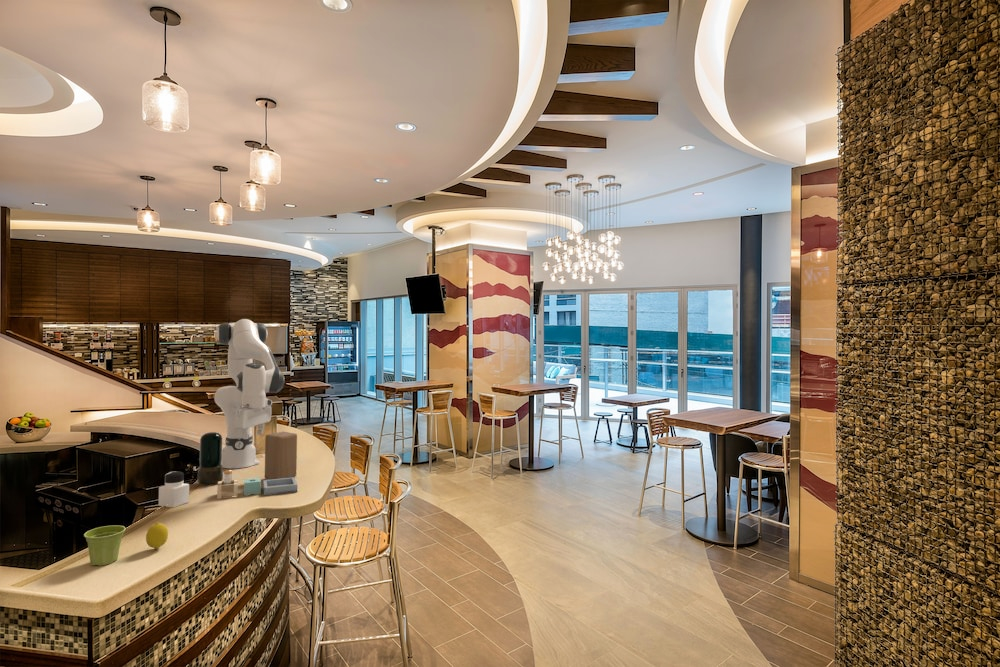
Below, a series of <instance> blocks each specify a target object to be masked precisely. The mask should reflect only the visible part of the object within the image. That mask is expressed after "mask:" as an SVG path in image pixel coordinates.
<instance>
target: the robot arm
mask: <svg viewBox="0 0 1000 667" xmlns="http://www.w3.org/2000/svg"><path fill="white" fill-rule="evenodd" d="M268 333H269V332H268V329H267V326H266V325H265V324H264V323H261V322H254V321H252V320H251V319H248V318H241V319H239V320H238V321H236V322H229V323H228V322H224V323H220V324H219V325H218V327H217V328H216V331H215V336H216V339H217V342H218V343H219V344H220V345H224V346H228V351H227V375H228V377H229V378H231V379H232V380H233V381H234V382H235V384H236V385H227V386H226V385H225V386H221V387H219V388H217V389H216V391H215V393H214V397H213V399H214V403H215V404H216V405H217V406H218V407H219V408H220V409H221V411H222V412H223V414H224V418H225V421H226V422H225V423H226V437H225V439H224V440H225V446H224V447H222V462H221V465H222V466H223V469H242V468H249V467H253V466H254V465H259V464H260V463H261V461H260V460H258V459H257V457H256V456H257V452H256V449H257V448H256V446H254V445H253V444H254V443H253V440H254V438H253V435H252V434H253V432H252V431H253V428H254V427H256V426H258V429H257V430H256V435H258V436H261V435H263V434H264V428H265V426H266V423H269V422H270V421H271V420H272V405H273V400H272V399H270V398H267V396H266V394H267V393H271V394H273V393H274V394H277V393H279V392H280V391H281V390H282V389H283V388H284V386H285V376H284V375H283V372H282V371H281V369H280V368H279V365H278V363H277V361H276V358H275V356H274V354H273V352H272V350H271V347H270V346H269V345H267V344H265V343H266V341H267V339H268ZM254 360H257V361H259V362H262V363H258V362H254Z"/></svg>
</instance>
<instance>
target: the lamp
mask: <svg viewBox="0 0 1000 667" xmlns="http://www.w3.org/2000/svg"><path fill="white" fill-rule="evenodd" d="M199 440H200V441H199V466H198V469H197V483H198V484H199V485H201V486H214V485H218V482H219V481H224V468H223V466H222V465H221V462H222V450H223V436H222V434H220V433H219V432H216V431H209V432H205V433H204V434H202V435H201V437H200V439H199Z"/></svg>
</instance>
